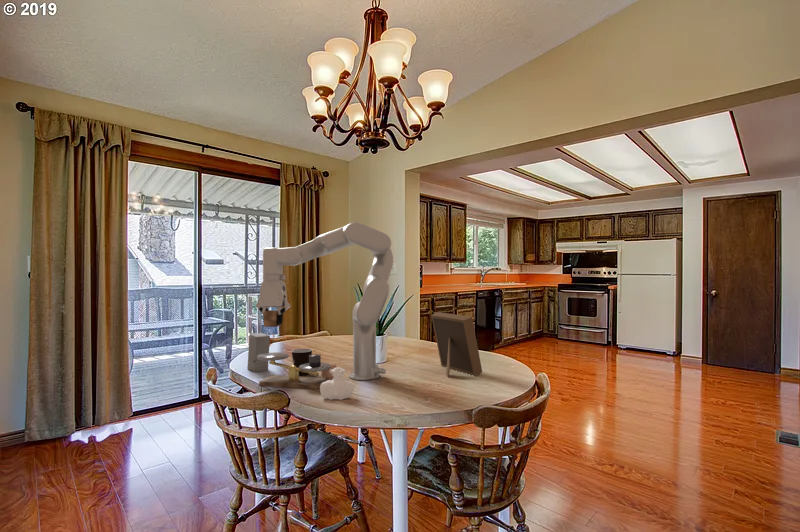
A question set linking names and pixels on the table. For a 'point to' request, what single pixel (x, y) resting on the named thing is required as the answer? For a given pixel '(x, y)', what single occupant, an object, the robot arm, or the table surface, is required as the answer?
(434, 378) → the table surface
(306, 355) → the coffee mug
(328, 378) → the peach rounded egg
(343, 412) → the table surface
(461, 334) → the photo frame
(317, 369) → the balance
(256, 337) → the skincare box
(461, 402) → the table surface
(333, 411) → the table surface
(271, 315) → the walnut block
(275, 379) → the balance base
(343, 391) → the bust
